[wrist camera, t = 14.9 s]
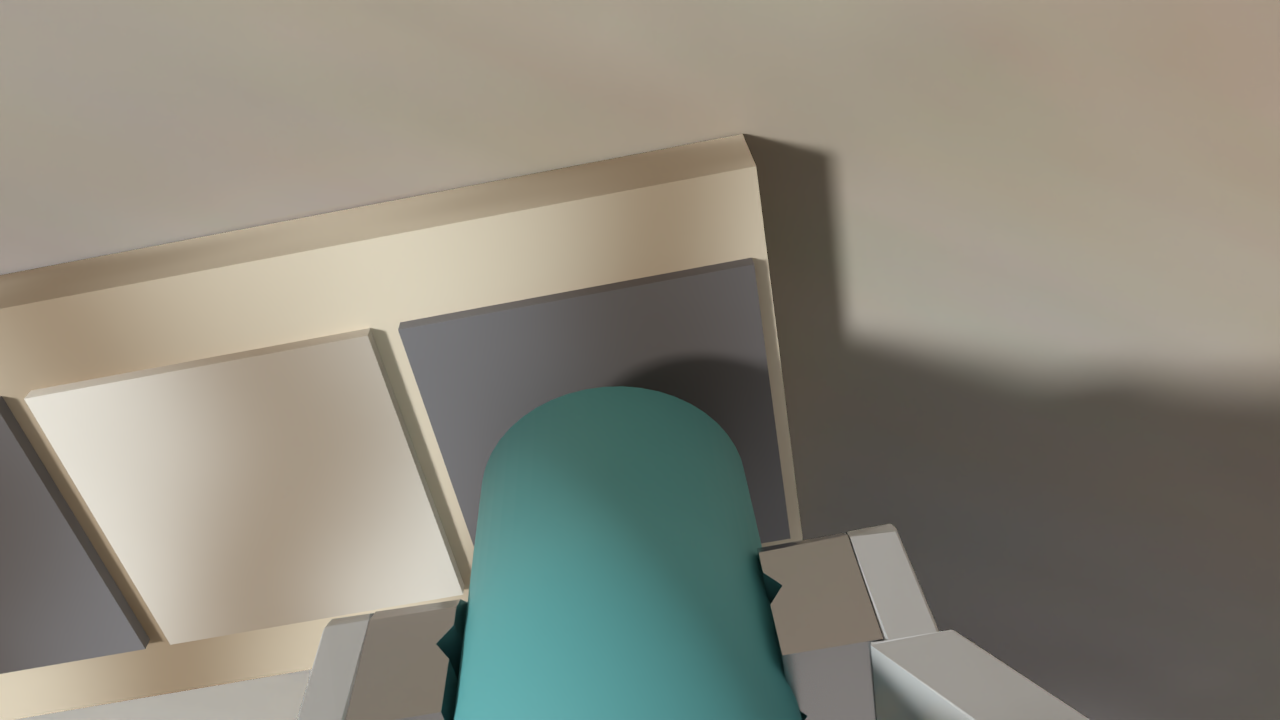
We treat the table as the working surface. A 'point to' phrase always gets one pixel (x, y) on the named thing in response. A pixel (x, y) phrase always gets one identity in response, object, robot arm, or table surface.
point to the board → (346, 408)
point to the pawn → (618, 571)
